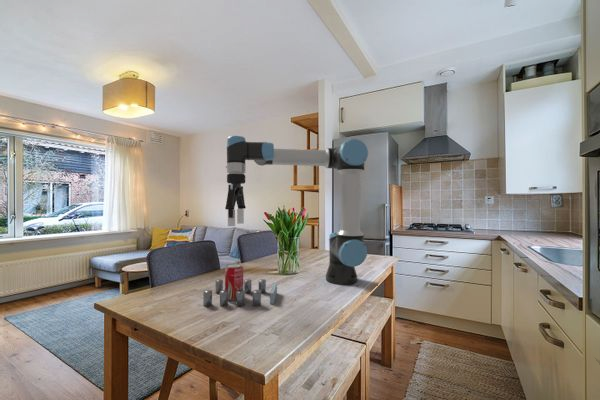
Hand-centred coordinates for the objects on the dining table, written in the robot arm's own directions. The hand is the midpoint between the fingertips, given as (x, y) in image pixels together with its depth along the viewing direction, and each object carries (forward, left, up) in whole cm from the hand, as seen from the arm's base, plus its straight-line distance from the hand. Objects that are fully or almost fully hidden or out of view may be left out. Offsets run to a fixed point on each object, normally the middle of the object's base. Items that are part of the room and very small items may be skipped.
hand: (236, 224), depth 112 cm
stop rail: (-16, +6, -28) cm, 33 cm away
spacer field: (-2, +6, -28) cm, 29 cm away
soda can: (-1, +6, -28) cm, 29 cm away
